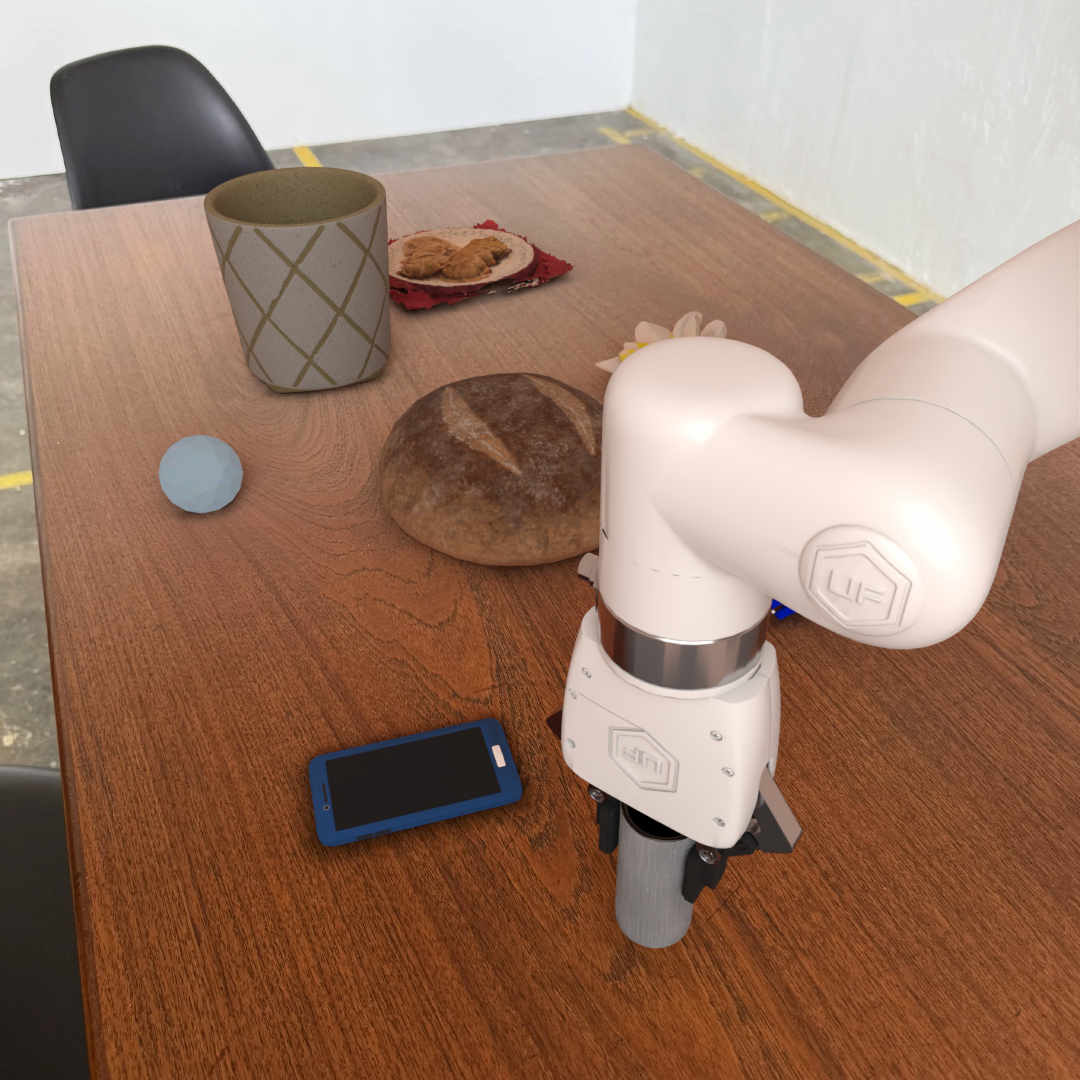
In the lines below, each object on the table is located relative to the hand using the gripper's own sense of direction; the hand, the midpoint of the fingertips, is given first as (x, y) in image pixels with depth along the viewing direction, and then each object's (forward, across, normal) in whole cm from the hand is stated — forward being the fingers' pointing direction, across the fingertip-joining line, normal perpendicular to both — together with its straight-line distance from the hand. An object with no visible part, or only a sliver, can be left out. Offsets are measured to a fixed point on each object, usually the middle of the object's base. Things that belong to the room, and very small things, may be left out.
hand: (658, 856), depth 54 cm
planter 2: (+6, 0, 0) cm, 6 cm away
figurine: (+8, -4, +33) cm, 34 cm away
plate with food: (+6, -74, +71) cm, 103 cm away
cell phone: (+7, -19, 0) cm, 20 cm away
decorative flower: (+7, -32, +57) cm, 66 cm away
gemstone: (+6, -58, +14) cm, 60 cm away
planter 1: (+6, -69, +40) cm, 80 cm away
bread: (+7, -34, +32) cm, 47 cm away
